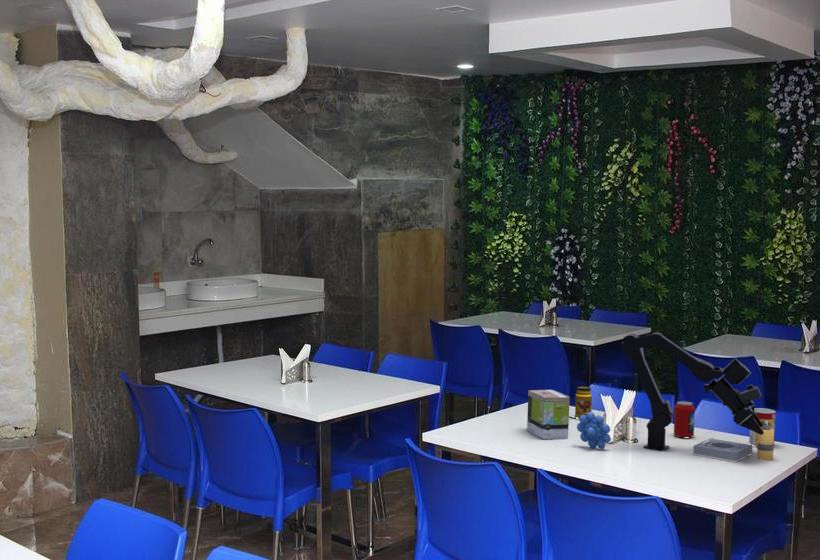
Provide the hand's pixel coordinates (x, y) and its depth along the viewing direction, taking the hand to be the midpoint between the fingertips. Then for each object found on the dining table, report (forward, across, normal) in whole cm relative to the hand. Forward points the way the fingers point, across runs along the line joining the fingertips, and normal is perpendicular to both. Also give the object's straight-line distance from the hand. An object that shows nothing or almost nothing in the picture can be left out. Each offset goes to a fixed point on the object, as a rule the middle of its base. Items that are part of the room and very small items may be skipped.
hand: (762, 430), depth 302 cm
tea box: (-44, +4, +56) cm, 71 cm away
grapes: (-31, -10, +43) cm, 54 cm away
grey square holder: (-2, 0, +15) cm, 15 cm away
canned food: (+6, +18, +7) cm, 20 cm away
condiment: (-40, +37, +52) cm, 75 cm away
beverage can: (-12, +21, +24) cm, 34 cm away
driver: (+7, 0, +6) cm, 9 cm away
